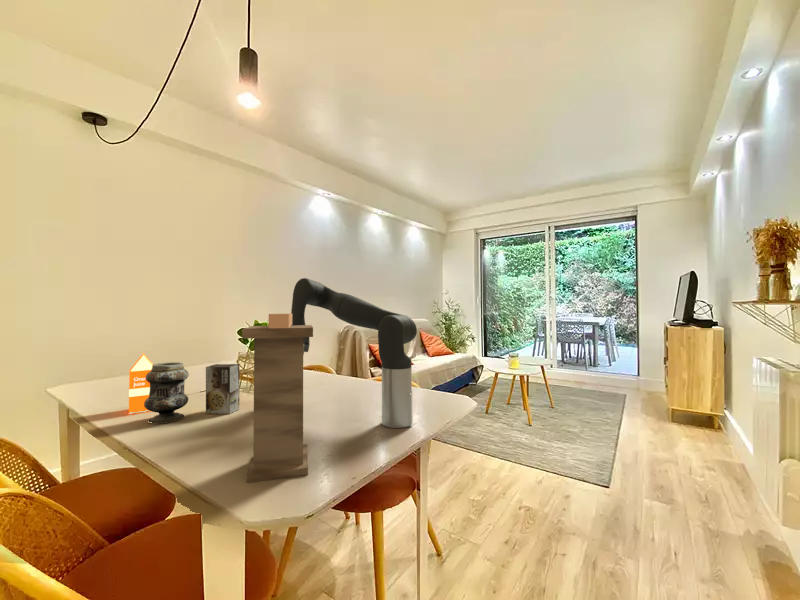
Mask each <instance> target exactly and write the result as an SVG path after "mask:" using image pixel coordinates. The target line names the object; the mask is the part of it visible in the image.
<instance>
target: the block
mask: <svg viewBox="0 0 800 600" xmlns="http://www.w3.org/2000/svg"><path fill="white" fill-rule="evenodd" d="M291 325H292V314H291V313H268V326H269V328H289V327H290V326H291Z"/></svg>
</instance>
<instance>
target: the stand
mask: <svg viewBox="0 0 800 600" xmlns="http://www.w3.org/2000/svg"><path fill="white" fill-rule="evenodd" d="M241 333H242V337H241V338H242V339H247V340H249V339H253V345H254V346H253V456H252V459H251V462H250V464H249V467H248V470H247V473H246V483H253V482H261V481H269V480H278V479H284V478H285V479H286V478H287V479H288V478H294V477H303V476H308V475H309V461H308V459H309V458H308V444H307V443H305V444H304V355H303V337H309V338H313V337H314V327H313V325H312V324H305V325H291V326H290V327H289V328H269V325H252V326H249V327H244V328H242V332H241Z"/></svg>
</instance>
